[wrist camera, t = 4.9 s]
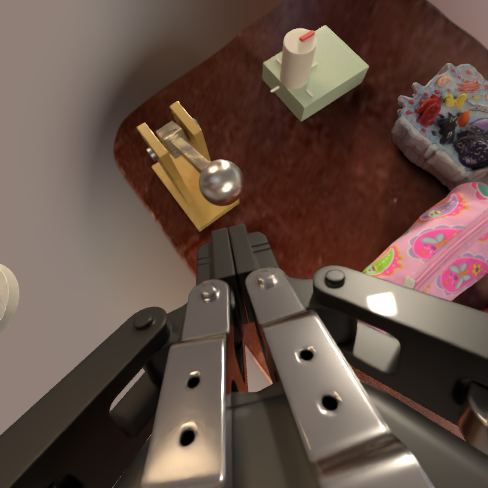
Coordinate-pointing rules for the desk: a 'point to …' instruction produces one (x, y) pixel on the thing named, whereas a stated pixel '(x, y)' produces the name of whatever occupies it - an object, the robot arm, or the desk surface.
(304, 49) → the knob
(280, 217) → the desk surface
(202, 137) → the bracket
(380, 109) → the desk surface
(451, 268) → the pencil case
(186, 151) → the silver metal rod
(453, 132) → the cell model
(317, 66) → the panel
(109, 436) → the robot arm
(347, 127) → the desk surface
